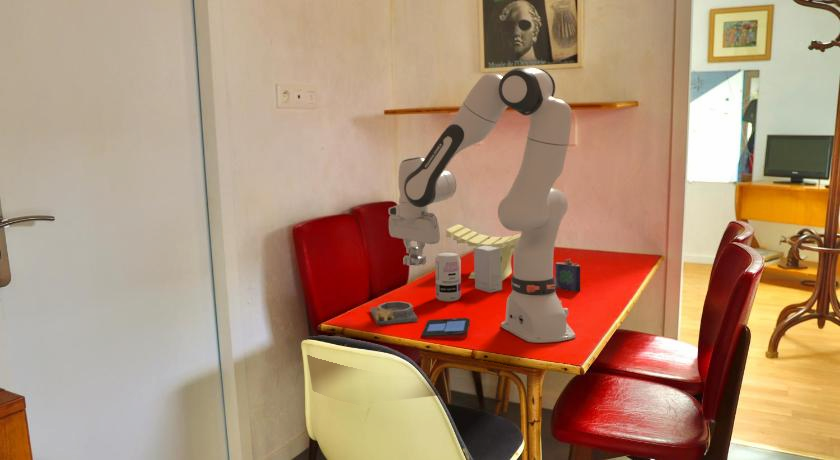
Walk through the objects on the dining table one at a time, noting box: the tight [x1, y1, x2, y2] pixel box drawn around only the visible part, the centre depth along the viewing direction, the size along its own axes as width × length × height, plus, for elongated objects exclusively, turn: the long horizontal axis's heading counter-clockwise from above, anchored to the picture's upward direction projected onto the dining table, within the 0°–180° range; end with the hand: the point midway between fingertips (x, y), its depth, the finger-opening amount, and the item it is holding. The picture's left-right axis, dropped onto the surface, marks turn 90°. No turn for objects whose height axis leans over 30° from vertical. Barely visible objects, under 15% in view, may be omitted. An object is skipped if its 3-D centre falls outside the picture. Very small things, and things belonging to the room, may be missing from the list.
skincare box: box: [473, 245, 503, 293], centre depth 224 cm, size 8×6×15 cm
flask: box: [554, 258, 581, 293], centre depth 222 cm, size 9×3×11 cm, turn 50°
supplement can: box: [434, 251, 462, 302], centre depth 214 cm, size 8×8×15 cm
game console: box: [420, 317, 471, 340], centre depth 183 cm, size 14×13×2 cm
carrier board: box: [369, 300, 419, 326], centre depth 197 cm, size 14×12×3 cm
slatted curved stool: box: [445, 223, 521, 282], centre depth 245 cm, size 30×16×18 cm, turn 67°
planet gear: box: [402, 246, 427, 267], centre depth 203 cm, size 7×7×5 cm
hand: (414, 254), depth 203 cm, fingers closed on planet gear, 3 cm apart
